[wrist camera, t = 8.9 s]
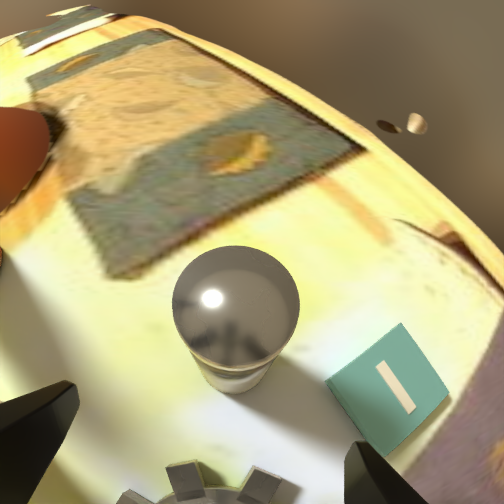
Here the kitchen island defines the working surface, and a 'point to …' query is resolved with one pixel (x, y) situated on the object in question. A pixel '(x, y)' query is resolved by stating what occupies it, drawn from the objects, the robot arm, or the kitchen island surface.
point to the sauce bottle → (0, 256)
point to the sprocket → (210, 488)
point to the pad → (388, 390)
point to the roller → (235, 314)
